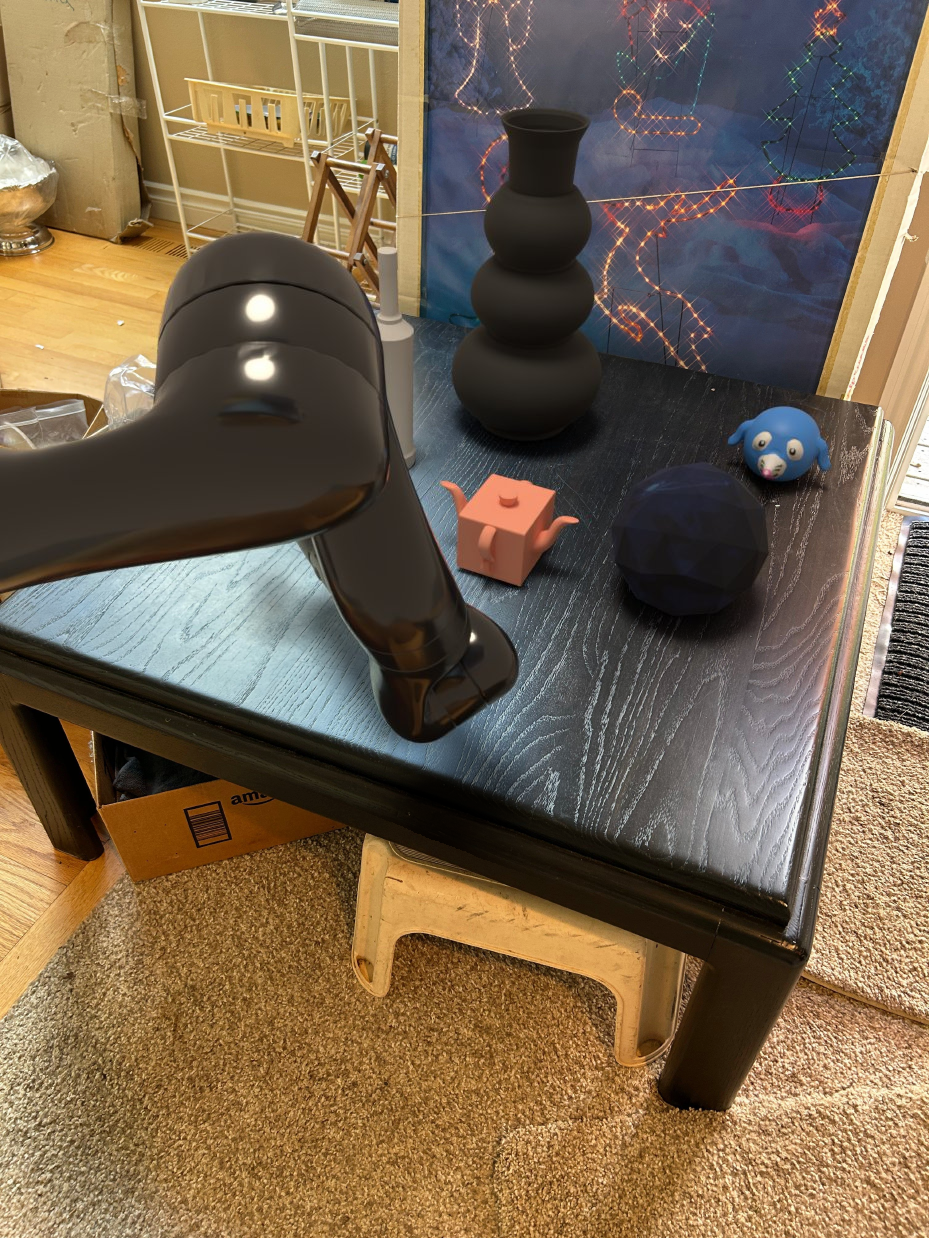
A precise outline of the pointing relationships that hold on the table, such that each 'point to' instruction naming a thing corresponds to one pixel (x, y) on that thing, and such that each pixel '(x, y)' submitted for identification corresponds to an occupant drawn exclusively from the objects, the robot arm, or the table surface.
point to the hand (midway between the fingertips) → (287, 454)
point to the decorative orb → (690, 539)
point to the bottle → (396, 352)
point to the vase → (532, 289)
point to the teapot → (505, 527)
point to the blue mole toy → (782, 444)
